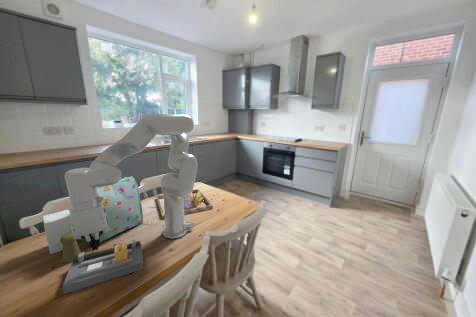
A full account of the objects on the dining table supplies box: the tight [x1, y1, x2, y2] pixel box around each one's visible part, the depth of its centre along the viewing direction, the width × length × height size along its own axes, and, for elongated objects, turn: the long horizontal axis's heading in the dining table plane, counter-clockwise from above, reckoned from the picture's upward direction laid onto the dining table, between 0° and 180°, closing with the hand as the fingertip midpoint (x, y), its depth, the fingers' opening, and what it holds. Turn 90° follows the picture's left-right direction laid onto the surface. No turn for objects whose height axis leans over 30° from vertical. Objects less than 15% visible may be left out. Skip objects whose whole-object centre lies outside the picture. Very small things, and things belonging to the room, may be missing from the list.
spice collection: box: [183, 190, 204, 209], centre depth 135 cm, size 25×24×9 cm
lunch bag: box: [92, 175, 144, 243], centre depth 99 cm, size 23×16×27 cm
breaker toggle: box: [114, 243, 128, 262], centre depth 75 cm, size 4×4×6 cm
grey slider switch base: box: [61, 239, 144, 295], centre depth 75 cm, size 24×13×5 cm, turn 118°
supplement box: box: [42, 209, 72, 255], centre depth 86 cm, size 9×9×15 cm
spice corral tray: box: [155, 188, 214, 220], centre depth 131 cm, size 31×32×3 cm
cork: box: [60, 232, 82, 264], centre depth 79 cm, size 6×6×11 cm
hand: (95, 247), depth 71 cm, fingers closed
